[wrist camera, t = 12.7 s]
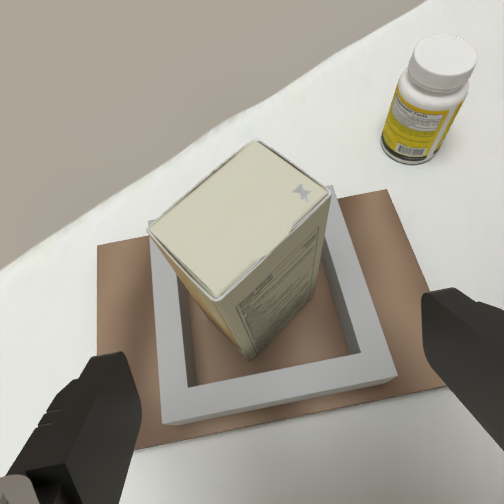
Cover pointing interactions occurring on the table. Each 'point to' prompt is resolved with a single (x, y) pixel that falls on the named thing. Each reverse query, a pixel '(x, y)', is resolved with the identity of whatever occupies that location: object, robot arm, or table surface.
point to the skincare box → (248, 244)
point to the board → (286, 342)
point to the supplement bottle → (428, 98)
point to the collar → (278, 381)
